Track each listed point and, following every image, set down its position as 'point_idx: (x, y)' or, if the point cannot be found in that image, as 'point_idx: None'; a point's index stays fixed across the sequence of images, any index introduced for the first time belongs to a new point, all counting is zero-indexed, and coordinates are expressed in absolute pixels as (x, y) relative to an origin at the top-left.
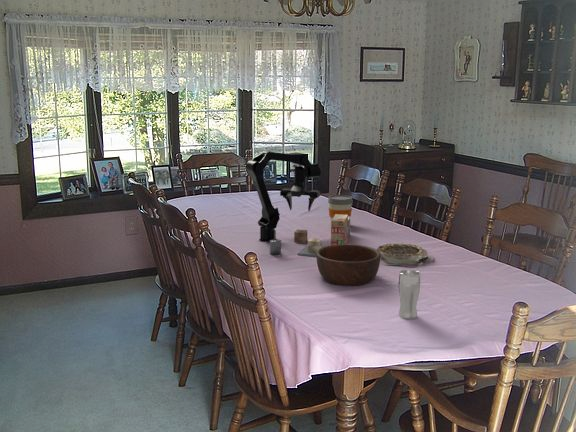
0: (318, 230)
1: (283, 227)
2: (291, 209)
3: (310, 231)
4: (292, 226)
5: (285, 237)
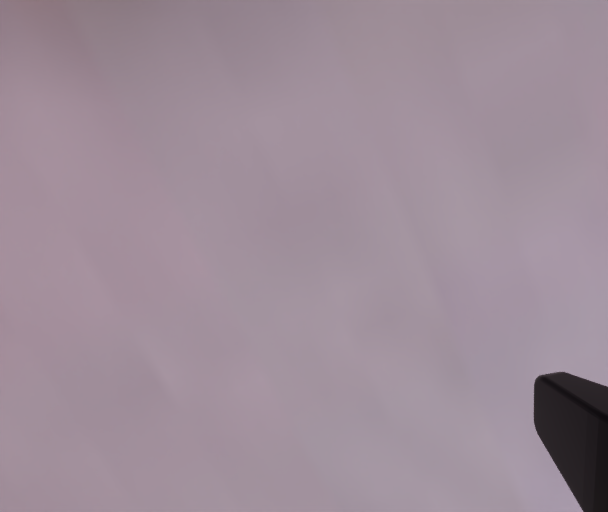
0: (136, 480)
1: None
2: (536, 421)
3: (197, 407)
4: (462, 486)
5: (358, 8)
